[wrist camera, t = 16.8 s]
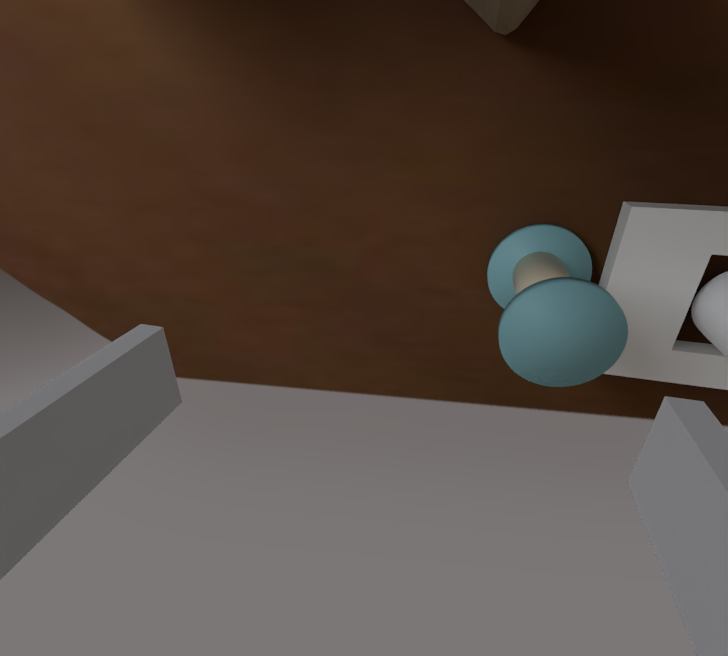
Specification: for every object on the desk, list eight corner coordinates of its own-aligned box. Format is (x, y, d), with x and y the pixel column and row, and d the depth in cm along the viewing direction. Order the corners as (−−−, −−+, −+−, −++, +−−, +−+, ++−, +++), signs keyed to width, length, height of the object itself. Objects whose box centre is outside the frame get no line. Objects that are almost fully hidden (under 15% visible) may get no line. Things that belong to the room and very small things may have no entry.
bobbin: (495, 220, 34) (502, 268, 23) (601, 226, 32) (659, 281, 22) (481, 308, 37) (481, 383, 27) (575, 318, 36) (614, 402, 25)
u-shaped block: (623, 201, 31) (631, 206, 29) (850, 212, 28) (874, 219, 26) (576, 358, 37) (581, 370, 36) (756, 381, 34) (770, 395, 33)
